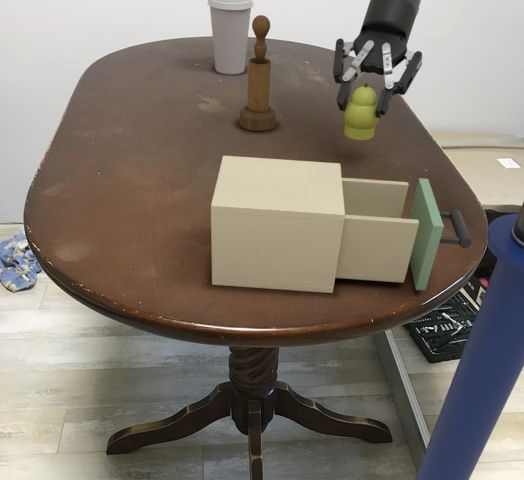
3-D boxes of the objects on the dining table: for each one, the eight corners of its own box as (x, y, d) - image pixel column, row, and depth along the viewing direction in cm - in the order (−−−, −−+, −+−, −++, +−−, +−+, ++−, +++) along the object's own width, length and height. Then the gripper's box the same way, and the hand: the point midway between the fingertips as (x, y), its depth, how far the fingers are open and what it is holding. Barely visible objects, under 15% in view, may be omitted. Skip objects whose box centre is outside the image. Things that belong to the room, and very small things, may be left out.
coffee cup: (212, 77, 127) (211, -2, 117) (205, 63, 134) (203, -13, 124) (255, 76, 129) (258, -2, 119) (246, 62, 136) (248, -13, 126)
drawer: (445, 241, 80) (464, 181, 74) (462, 293, 72) (484, 229, 66) (313, 232, 80) (320, 171, 74) (313, 282, 72) (322, 217, 66)
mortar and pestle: (265, 116, 112) (271, 10, 100) (281, 129, 108) (288, 19, 96) (233, 120, 110) (235, 12, 98) (248, 133, 106) (251, 22, 94)
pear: (374, 128, 97) (383, 77, 92) (377, 142, 93) (386, 90, 88) (340, 126, 97) (347, 75, 92) (342, 140, 93) (349, 87, 88)
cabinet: (329, 237, 81) (340, 163, 74) (332, 293, 72) (345, 214, 65) (223, 230, 82) (223, 155, 74) (212, 284, 72) (210, 205, 65)
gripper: (345, -14, 90) (311, 91, 89) (440, -2, 86) (404, 109, 86) (351, 17, 97) (319, 115, 97) (438, 30, 93) (405, 132, 93)
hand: (359, 111), depth 91 cm, fingers closed on pear, 5 cm apart
